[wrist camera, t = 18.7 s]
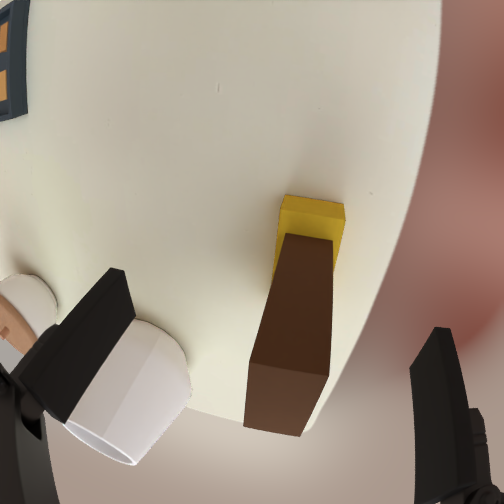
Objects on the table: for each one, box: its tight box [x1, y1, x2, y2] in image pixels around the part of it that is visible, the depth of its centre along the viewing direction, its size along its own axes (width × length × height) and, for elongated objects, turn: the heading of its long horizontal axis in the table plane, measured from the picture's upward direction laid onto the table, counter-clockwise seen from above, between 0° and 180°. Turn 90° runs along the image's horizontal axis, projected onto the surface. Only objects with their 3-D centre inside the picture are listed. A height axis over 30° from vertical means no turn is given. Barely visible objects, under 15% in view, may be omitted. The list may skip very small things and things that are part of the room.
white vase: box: [62, 319, 192, 465], centre depth 28 cm, size 13×13×14 cm
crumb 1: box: [0, 22, 9, 53], centre depth 15 cm, size 1×3×1 cm, turn 176°
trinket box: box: [0, 274, 57, 355], centre depth 31 cm, size 11×11×9 cm
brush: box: [243, 195, 346, 437], centre depth 17 cm, size 9×4×12 cm, turn 177°
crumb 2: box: [0, 70, 8, 101], centre depth 18 cm, size 1×3×1 cm, turn 177°
